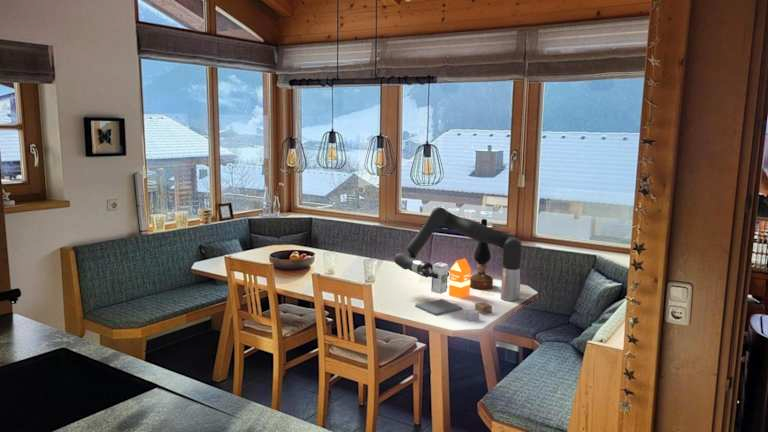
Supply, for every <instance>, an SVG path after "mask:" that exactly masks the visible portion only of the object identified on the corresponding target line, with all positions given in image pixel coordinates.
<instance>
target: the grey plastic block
mask: <svg viewBox="0 0 768 432" xmlns="http://www.w3.org/2000/svg"><path fill="white" fill-rule="evenodd" d="M463 314H464V315H463V316H464V320H467V321H469V322H474V321H479V320H480V313H479V311H476V310H475V309H473V308H470V309H467V310H464V313H463Z"/></svg>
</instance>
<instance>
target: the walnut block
mask: <svg viewBox="0 0 768 432" xmlns="http://www.w3.org/2000/svg"><path fill="white" fill-rule="evenodd" d="M474 310H476V311H479V315H487V314H492V312H493V305H492V304H490V303H487V302H485V301H484V302H477V303H474Z"/></svg>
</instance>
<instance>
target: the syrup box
mask: <svg viewBox="0 0 768 432" xmlns="http://www.w3.org/2000/svg"><path fill="white" fill-rule="evenodd" d="M432 266H433V271H432V273H435V274H438V278H437V279H436V278H433V277H431V288H430V289H431V292H432V293H435V294H440V295H442V294H443V293H446V292H447V290H448V278H449V276H448V272H449V264H447V263H444V262H437V263H433V264H432Z"/></svg>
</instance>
